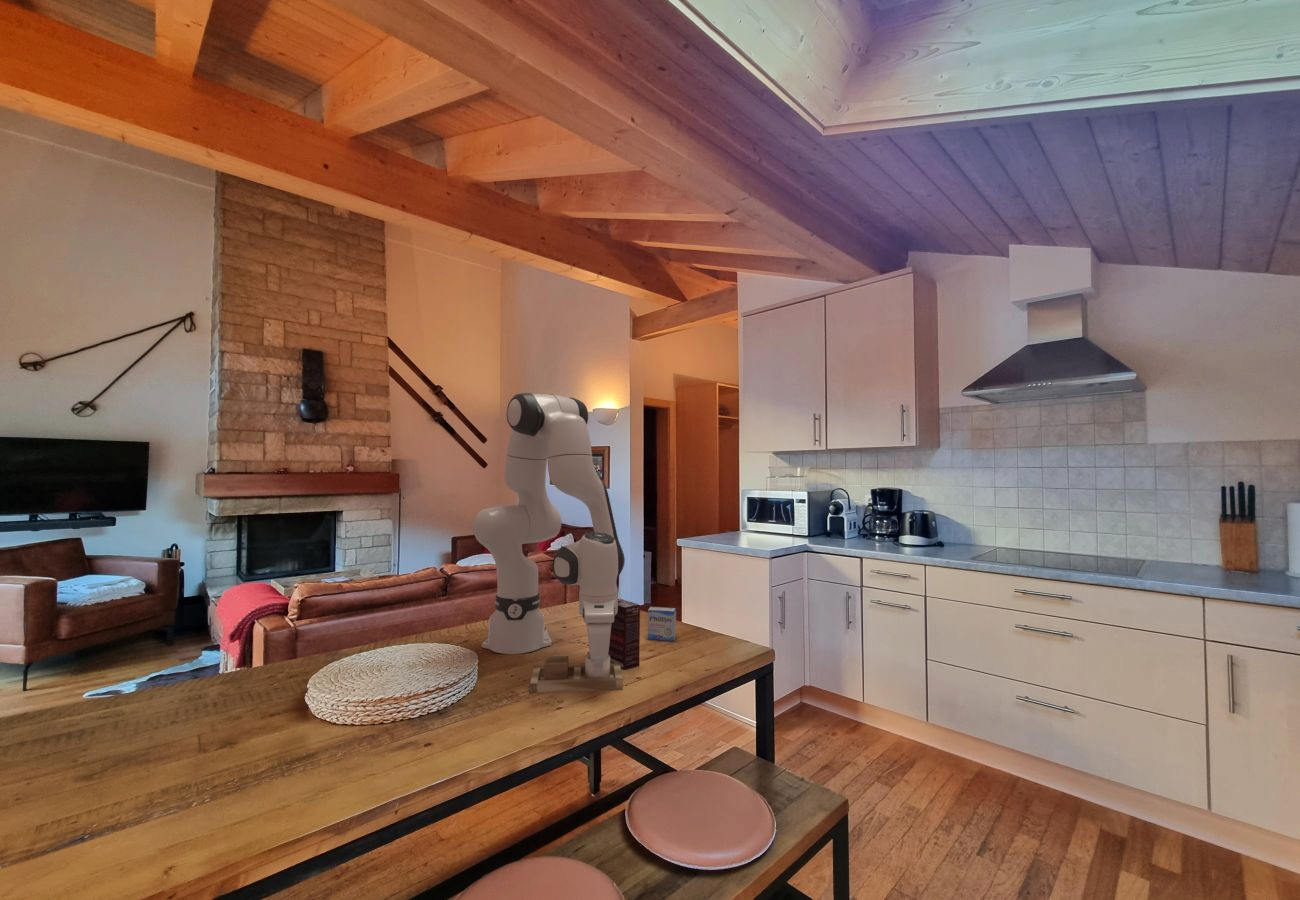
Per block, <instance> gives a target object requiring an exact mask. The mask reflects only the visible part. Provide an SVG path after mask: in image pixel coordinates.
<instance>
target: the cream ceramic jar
mask: <svg viewBox="0 0 1300 900" xmlns="http://www.w3.org/2000/svg"><path fill="white" fill-rule="evenodd" d="M584 658H585V660H584V662H585V664H584V665H585V679H592V678H610V664H611V663H610V655H609V654H608V657H607V659H606V660H603V667H602V675H600V676H595V675H594V660H591V658H590V653H589V651H587V654H586V655H585V657H584Z"/></svg>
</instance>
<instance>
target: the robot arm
mask: <svg viewBox="0 0 1300 900" xmlns="http://www.w3.org/2000/svg"><path fill="white" fill-rule="evenodd" d="M506 421H507V423H508V425H509V427H510V428H511V432H510V435H509V439H508V444H507V451H506V456H505V457H506V459H505V467H504V476H503V480H504V483H505V485H506V487H508V489H510V490H512V491H513V492H515V493H516V494H517V496H518V504H512V505H509V504H508V505H496V506H492V507H487V508H484V509H481V510H479V512H477V515H475V517H474V521H473V524H472V531H473V535H474V537H475V539H476V540H477V542H478V543H479V544H480V545H482V546H483V547H484V548H485V549H487V550H488V551H489V553H490V554H491V556H492V557H493V561H494V563H495V566H496V568H495V569H496V577H497V578H496V580H497V581H496V583H497V584H496V585H497V594H496V595H495V601H494V605H495V611H494V612H493V613H491V615H490V616H489V621H488V634H487V635H488V637H487V639H485V640H484V641H483V642H482V643H481V648H483V649H488V650H490V651H491V652H495V653H499V654H502V655H503V654H506V655H507V654H508V655H514V654H515V655H516V654H517V655H518V654H525V653H530V652H534V651H537V650H539V649H541V648H545V647H550V646H552V639H551V637H550V635H549V633H548V630H547V627H546V625H545V615H544V614H543V612H542V610H540V605H541V604H540V603H541V596H540V592H539V567H538V564H537V563H536V562H535V561H534V560H533V559H531V558H529V557H528V556H526V555H525V554H524V553H523V545H525V544H534V543H542V542H546V541H549V540H551V539H554V538H555V537H557V536H558V534H559V533H560V531H561V528H562V516H561V514H560V511H559V510H558V509H557V508H556V507H555V506H554V505H553V504H552V503H551V501H550V499H549V496H548V494H547V488H546V477H547V476H546V475H547V473H548V477H549V479H550V482H551V483H552V485H553V486H555V488H556V489H557V490H559V491H560V492H561V493H564V494H565V495H568V496H570V497H573V498H575V499H577V500H579V501H580V502H582V503H583V504H584V505H585V506H586V507H587V508H588V511H589V513H590V518H591V522H592V527H593V532H588V533H585V534H584V535H582V537H581V538H580V539H579V540H578V541H576V542H573V543H570V544H566V545H563V546H560V547H559V548H558V550H557V551H556V552H555V555H554V557H553V561H552V569H553V570H552V572H553V575H554V576H555V578H556V580H557V581H559V582H560V583H561V584H562V585H563V586H564V585H565V586H576V585H578V586H579V593H578V595H579V596H578V613H579V615H581V617H582V618H583V621H584V624H585V626H586V631H587V639H588V640H587V642H588V652H589V653H590V658H591V660H594V675H595V676H600V675H602V667H603V660H606V659H607V657H608V652H609V644H610V634H611V624H612V623H613V622H614V617H615V615H616V614H617V612H618V599H619V595H618V594H619V589H618V586H617V585H618V584H617V579H618V578H619V576H620V575H621V573H622V571H623V569H624V566H625V560H626V559H625V554H624V551H623V548H622V546H621V543H620V541H619V540H620V539H619V537H618V533H617V528H616V523H615V519H614V514H613V509H612V506H611V505H612V504H611V501H610V495H609V491H608V488H607V486H606V484H605V482H604V481H603V480H602V478H600V477H599V475H598V473H597V471H596V468H595V465H594V461H593V452H592V443H591V438H590V432H589V429H588V425H587V424H588V422H589V412H588V408H587V406H586V404H585V403H584V402H583V401H581V400H579V399H577V398H574V397H567V396H563V395H557V394H552V393H551V394H550V393H549V394H543V393H542V394H541V393H531V392H522V393H516V394H514V395H513V396H512V398H511V399H510V401H509V402H508V404H507V409H506Z"/></svg>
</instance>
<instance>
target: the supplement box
mask: <svg viewBox="0 0 1300 900" xmlns="http://www.w3.org/2000/svg"><path fill="white" fill-rule="evenodd" d="M640 623H641V605H640V604H638V603H635V602H632V601H629V600H626V599H622V598H618V612H617V614H616V615H615V617H614V622H613V623H612V624H611V634H610V644H609V652H608V654H609V655H610V664H616V663H620V667H621V670H624V671H626V670H630V669H633V668H638V667H640V644H641V643H640V639H641V638H640V633H641V632H640V631H641V629H640V627H641V624H640Z"/></svg>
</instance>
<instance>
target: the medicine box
mask: <svg viewBox="0 0 1300 900" xmlns="http://www.w3.org/2000/svg"><path fill="white" fill-rule="evenodd" d="M676 636H677V608H676V607H660V606H650V607H649V608H648V610H647V640H648V641H659V642H660V641H661V642H663V641H664V642H675V639H676V638H677V637H676Z"/></svg>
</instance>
